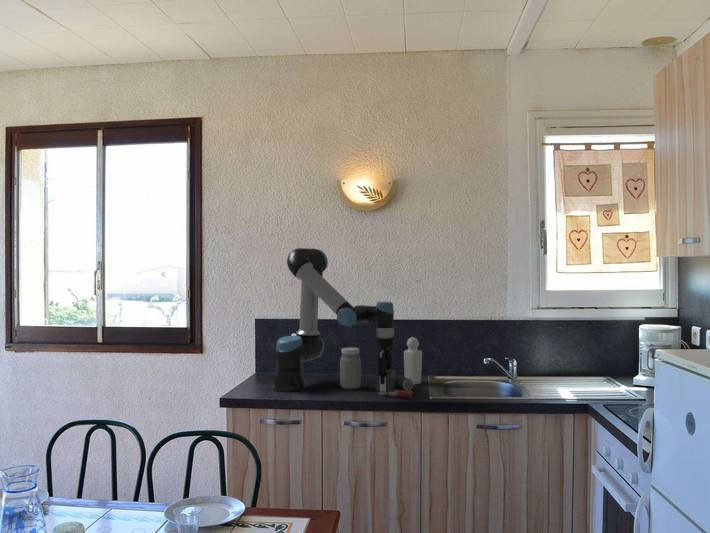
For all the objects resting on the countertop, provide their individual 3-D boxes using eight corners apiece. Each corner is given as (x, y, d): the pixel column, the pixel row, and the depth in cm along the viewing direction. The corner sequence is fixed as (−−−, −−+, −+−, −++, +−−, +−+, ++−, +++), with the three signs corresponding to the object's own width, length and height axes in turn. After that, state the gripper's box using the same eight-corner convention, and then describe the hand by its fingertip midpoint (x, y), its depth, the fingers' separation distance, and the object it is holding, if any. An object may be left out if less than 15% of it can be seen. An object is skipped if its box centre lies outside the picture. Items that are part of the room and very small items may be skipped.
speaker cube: (375, 390, 236) (375, 370, 236) (380, 386, 242) (380, 368, 242) (390, 391, 233) (390, 372, 233) (395, 388, 240) (395, 369, 240)
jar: (339, 389, 246) (339, 350, 246) (340, 385, 256) (340, 347, 256) (361, 389, 246) (361, 350, 246) (360, 385, 256) (360, 347, 256)
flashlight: (384, 384, 257) (384, 373, 257) (393, 383, 260) (393, 372, 260) (403, 391, 244) (403, 379, 244) (413, 389, 247) (413, 378, 247)
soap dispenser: (412, 380, 265) (412, 336, 265) (422, 383, 260) (422, 337, 260) (403, 382, 260) (403, 337, 260) (413, 385, 256) (413, 338, 255)
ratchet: (376, 395, 236) (376, 380, 236) (380, 392, 242) (380, 377, 242) (409, 398, 231) (409, 383, 231) (413, 395, 237) (413, 380, 237)
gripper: (386, 340, 227) (387, 395, 227) (399, 334, 246) (399, 385, 246) (369, 339, 230) (370, 393, 230) (383, 333, 248) (384, 383, 248)
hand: (385, 389), depth 238 cm, fingers closed on speaker cube, 7 cm apart
